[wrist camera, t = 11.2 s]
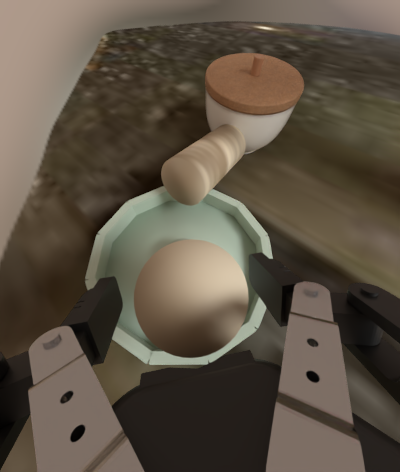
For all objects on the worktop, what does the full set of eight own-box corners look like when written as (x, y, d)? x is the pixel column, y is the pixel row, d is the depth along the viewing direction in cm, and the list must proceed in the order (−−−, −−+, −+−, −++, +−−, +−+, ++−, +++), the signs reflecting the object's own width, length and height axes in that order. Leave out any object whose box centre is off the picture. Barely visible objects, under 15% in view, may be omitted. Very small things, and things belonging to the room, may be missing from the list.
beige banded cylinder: (200, 212, 18) (239, 168, 24) (208, 169, 14) (250, 131, 20) (162, 194, 19) (208, 156, 25) (160, 150, 15) (214, 119, 21)
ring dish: (163, 180, 24) (160, 162, 21) (285, 239, 21) (298, 226, 18) (64, 294, 17) (41, 289, 15) (218, 405, 14) (223, 421, 12)
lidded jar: (191, 125, 29) (190, 41, 20) (253, 110, 31) (275, 28, 22) (222, 175, 24) (237, 95, 16) (291, 154, 26) (336, 73, 18)
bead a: (184, 276, 18) (174, 223, 9) (226, 301, 17) (265, 270, 8) (156, 322, 16) (108, 313, 7) (202, 352, 15) (216, 387, 6)
